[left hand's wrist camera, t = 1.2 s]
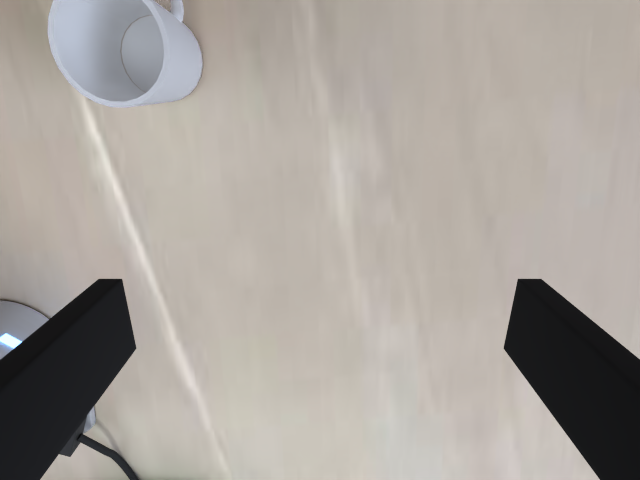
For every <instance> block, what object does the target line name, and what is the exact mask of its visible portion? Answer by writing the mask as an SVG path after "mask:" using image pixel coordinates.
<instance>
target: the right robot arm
mask: <svg viewBox="0 0 640 480" xmlns="http://www.w3.org/2000/svg"><path fill="white" fill-rule="evenodd" d="M48 320H49V319H48V318H47V317H46V316H44V315H43V314H41V313H39V312H38V311H36V310H34V309H32V308H30V307H27V306H25V305H22V304H19V303H15V302H10V301H1V300H0V359H2V358H3V357H4V356H5V355H6V354H8V353H9V352H10V351H11V350H13V349H14V348H15V347H16V346H18V345H19V344H20V343H21V342H22V341H24V340H25V339H26V338H27V337H29V336H30V335H31V334H32V333H33V332H35V331H36V330H37V329H38V328H40V327H41V326H42V325H43V324H44V323H46V322H47V321H48ZM95 423H96V418H95V410H94V407H93V408H92V409H91V411H90V412H89V413H88V415H87V416H86V418H85V419H84V420H83V422H82V423H81V424H80V426H79V427H78V428H77V430H76V431H75V433H74V434H73V435H72V437H71V438H70V439H69V441H68V442H67V443H66V445H65V446H64V448H63V449H62V450H61V452H60V453H59V454H61V455H65V456H69V457H70V456H71V455H72V454H73V452H74V451H75V449H76V448H77V447H78V445H79V444H80V442H81V443H83V444H85V445H87V446H89V447H91V448H93V449H95V450H96V451H98V452H100V453H102V454H104V455H106V456H109V457H110V458H112V459H113V460H114V461H115V462H116V463H117V464H118V465H119V466H120V467H121V468H122V469H123V471H124V472H125V473H126V475H127V476H128V477H129V479H130V480H139V479H138V478H137V476H136V475H135V473H134V472H133V471H132V469H131V468H130V467H129V465H128V464H127V463H126V462H125V460H124V459H123V458H122V457H121V456H120V455H119V454H118V453H117V452H115V451H113V450H111V449H109V448H107V447H105V446H104V445H102V444H100V443H98V442H96V441H95V440H93V439H91V438H89V437H87V436H85V435H83V433H85V432H87V431H88V430H89V429H91V428H92V427H93V425H94V424H95Z"/></svg>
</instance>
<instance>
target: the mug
mask: <svg viewBox="0 0 640 480" xmlns="http://www.w3.org/2000/svg"><path fill="white" fill-rule="evenodd" d="M170 2H171V10H170V12H169V11H167V10H166V9H165V8H163V7H162V6H161V5H159V4H158V3H157V2H156V1H154V0H53V3H52V6H51V9H50V12H49V16H48V38H49V43H50V48H51V52H52V54H53V57H54V59H55V61H56V64H57V66H58V68H59V69H60V71H61V72H62V74H63V75H64V76H65V78H66V79H67V81H68V82H69V83H70V84H71V85H72V86H73V87H74V88H75V89H77V90H78V91H79V92H80V93H81V94H82V95H84V96H86V97H87V98H89V99H91V100H93V101H94V102H96V103H99V104H103V105H106V106H109V107H135V106H143V105H150V104H158V103H165V102H173V101H177V100H180V99H183V98H184V97H186V96H187V95H189V94H190V93H191V92H192V91H193V90H194V89H195V88H196V86H197V84H198V82H199V80H200V78H201V74H202V68H203V59H202V52H201V49H200V46H199V43H198V41H197V39H196V37H195V36H194V34H193V32H192V31H191V30H190V29H189V28H188V27H187V26H186V25H185V24H184V23H183V22H182V21H183V15H184V9H183V3H182V0H170Z"/></svg>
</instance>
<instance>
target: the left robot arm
mask: <svg viewBox="0 0 640 480" xmlns="http://www.w3.org/2000/svg"><path fill="white" fill-rule="evenodd" d="M135 349H136V345H135V340H134V335H133V330H132V325H131V320H130V315H129V311H128V306H127V301H126V296H125V291H124V286H123V281H122V279H98V280H97V281H96V282H95V283H93V284H92V285H91V286H90V287H88V288H87V289H86V290H85V291H84V292H82V293H81V294H80V295H79V296H77V297H76V298H75V299H74V300H73V301H71V302H70V303H69V304H68V305H66V306H65V307H64V308H63V309H62V310H60V311H59V312H58V313H57V314H55V315H54V316H53V317H52V318H51V319H49V320H48V321H47V322H46V323H44V324H43V325H42V326H41V327H40V328H38V329H37V330H36V331H35V332H33V333H32V334H31V335H30V336H29V337H27V338H26V339H25V340H24V341H22V342H21V343H20V344H19V345H18V346H16V347H15V348H14V349H13V350H11V351H10V352H9V353H8V354H6V355H5V356H4V357H3V358H2V359H0V480H40V479H41V477H42V476H43V475H44V473H45V472H46V471H47V469H48V468H49V467H50V465H51V464H52V463H53V461H54V460H55V458H56V457H57V456H58V454H59V453H60V452H61V450H62V449H63V448H64V446H65V445H66V443H67V442H68V441H69V439H70V438H71V437H72V435H73V434H74V433H75V431H76V430H77V428H78V427H79V426H80V424H81V423H82V422H83V420H84V419H85V418H86V416H87V415H88V413H89V412H90V411H91V409H92V408H93V407H94V405H95V404H96V403H97V401H98V400H99V398H100V397H101V396H102V394H103V393H104V392H105V390H106V389H107V388H108V386H109V385H110V384H111V382H112V381H113V379H114V378H115V377H116V375H117V374H118V373H119V371H120V370H121V369H122V367H123V366H124V364H125V363H126V362H127V360H128V359H129V358H130V356H131V355H132V354H133V352H134V351H135ZM504 349H505V351H506V352H507V354H508V355H509V356H510V358H511V359H512V360H513V362H514V363H515V364H516V366H517V367H518V369H519V370H520V371H521V373H522V374H523V375H524V377H525V378H526V379H527V381H528V382H529V384H530V385H531V386H532V388H533V389H534V390H535V392H536V393H537V394H538V396H539V397H540V399H541V400H542V401H543V403H544V404H545V405H546V407H547V408H548V409H549V411H550V412H551V413H552V415H553V416H554V418H555V419H556V420H557V422H558V423H559V424H560V426H561V427H562V428H563V430H564V431H565V433H566V434H567V435H568V437H569V438H570V439H571V441H572V442H573V443H574V445H575V446H576V448H577V449H578V450H579V452H580V453H581V454H582V456H583V457H584V458H585V460H586V461H587V463H588V464H589V465H590V467H591V468H592V469H593V471H594V472H595V473H596V475H597V476H598V477H599V479H600V480H640V359H638V358H637V357H636V356H635V355H634V354H632V353H631V352H630V351H629V350H627V349H626V348H625V347H624V346H622V345H621V344H620V343H619V342H618V341H616V340H615V339H614V338H613V337H611V336H610V335H609V334H608V333H607V332H605V331H604V330H603V329H602V328H600V327H599V326H598V325H597V324H596V323H594V322H593V321H592V320H591V319H589V318H588V317H587V316H586V315H585V314H583V313H582V312H581V311H580V310H578V309H577V308H576V307H575V306H574V305H572V304H571V303H570V302H569V301H567V300H566V299H565V298H564V297H563V296H561V295H560V294H559V293H558V292H556V291H555V290H554V289H553V288H552V287H550V286H549V285H548V284H547V283H545V282H544V281H543V280H542V279H518V281H517V286H516V291H515V296H514V301H513V306H512V311H511V315H510V320H509V325H508V330H507V335H506V340H505V345H504Z"/></svg>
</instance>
